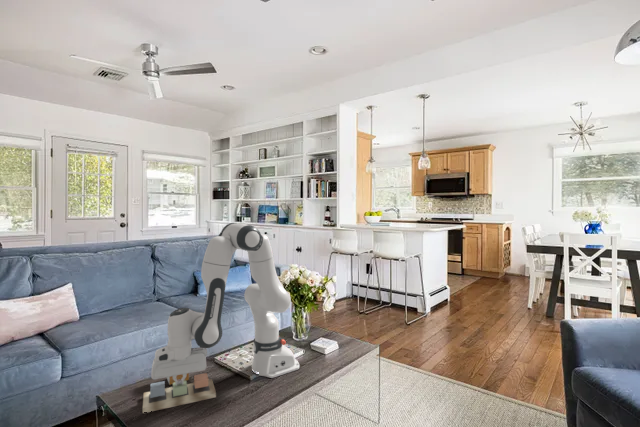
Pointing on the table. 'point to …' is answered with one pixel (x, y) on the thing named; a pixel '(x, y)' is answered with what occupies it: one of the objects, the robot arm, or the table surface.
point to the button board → (178, 397)
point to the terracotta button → (201, 380)
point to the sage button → (179, 389)
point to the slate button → (157, 389)
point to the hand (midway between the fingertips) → (179, 384)
